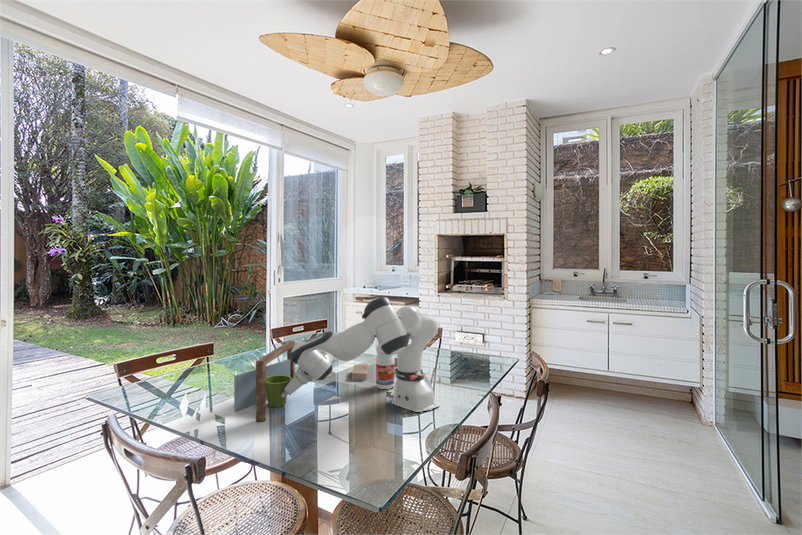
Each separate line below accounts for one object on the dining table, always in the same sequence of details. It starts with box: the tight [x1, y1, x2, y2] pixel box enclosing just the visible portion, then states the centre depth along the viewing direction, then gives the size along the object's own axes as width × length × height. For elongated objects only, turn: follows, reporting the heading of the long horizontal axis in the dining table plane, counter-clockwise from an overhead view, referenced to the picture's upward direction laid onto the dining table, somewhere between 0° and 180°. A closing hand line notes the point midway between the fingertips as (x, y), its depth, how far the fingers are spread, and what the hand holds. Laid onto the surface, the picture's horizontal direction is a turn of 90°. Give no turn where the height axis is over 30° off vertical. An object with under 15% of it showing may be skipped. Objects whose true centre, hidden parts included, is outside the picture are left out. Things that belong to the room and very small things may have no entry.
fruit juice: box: [375, 343, 396, 390], centre depth 193 cm, size 9×9×28 cm
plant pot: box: [266, 375, 291, 408], centre depth 169 cm, size 12×12×11 cm
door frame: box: [255, 340, 296, 423], centre depth 168 cm, size 3×36×24 cm, turn 176°
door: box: [233, 359, 291, 413], centre depth 171 cm, size 3×30×15 cm, turn 151°
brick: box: [351, 363, 370, 382], centre depth 211 cm, size 17×8×5 cm, turn 2°
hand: (286, 392), depth 171 cm, fingers open, 8 cm apart
